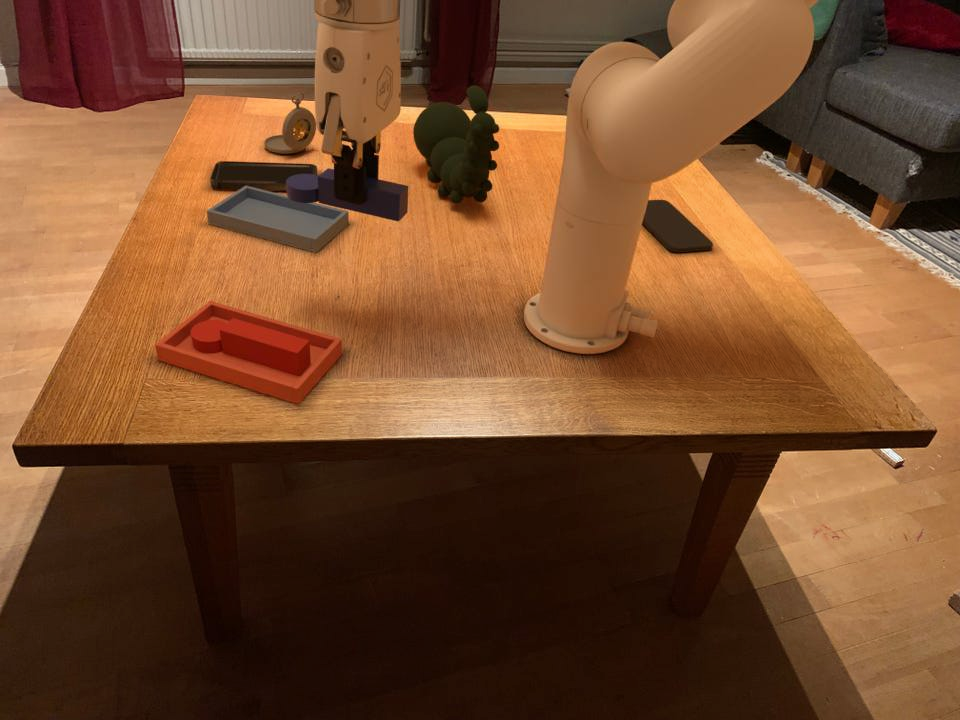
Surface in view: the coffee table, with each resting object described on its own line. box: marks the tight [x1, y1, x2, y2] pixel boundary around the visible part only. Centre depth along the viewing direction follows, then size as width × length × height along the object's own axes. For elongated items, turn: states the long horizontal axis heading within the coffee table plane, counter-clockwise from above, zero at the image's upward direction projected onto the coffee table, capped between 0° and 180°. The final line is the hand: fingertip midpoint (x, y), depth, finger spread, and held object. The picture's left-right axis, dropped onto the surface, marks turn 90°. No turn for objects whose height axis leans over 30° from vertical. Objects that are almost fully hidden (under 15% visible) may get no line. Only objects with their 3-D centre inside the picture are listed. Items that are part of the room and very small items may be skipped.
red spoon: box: [191, 318, 311, 376], centre depth 76 cm, size 13×4×3 cm, turn 71°
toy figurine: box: [412, 85, 500, 205], centre depth 111 cm, size 9×19×25 cm
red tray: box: [154, 300, 343, 405], centre depth 77 cm, size 16×9×2 cm, turn 71°
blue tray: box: [206, 186, 350, 254], centre depth 100 cm, size 16×9×2 cm, turn 71°
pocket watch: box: [263, 92, 317, 155], centre depth 118 cm, size 8×8×10 cm
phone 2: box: [642, 199, 714, 253], centre depth 111 cm, size 7×1×15 cm
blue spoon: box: [286, 167, 409, 222], centre depth 76 cm, size 13×4×3 cm, turn 73°
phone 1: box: [209, 160, 318, 192], centre depth 111 cm, size 8×1×15 cm
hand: (356, 193), depth 76 cm, fingers closed on blue spoon, 2 cm apart
